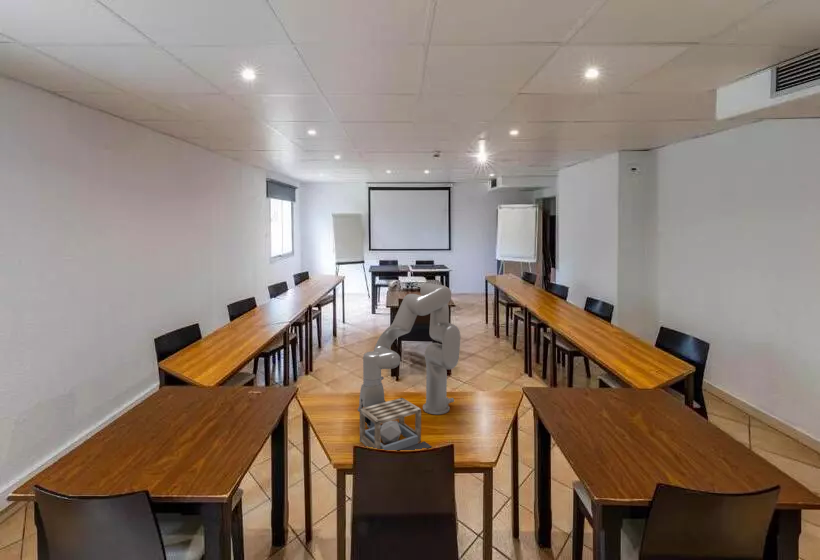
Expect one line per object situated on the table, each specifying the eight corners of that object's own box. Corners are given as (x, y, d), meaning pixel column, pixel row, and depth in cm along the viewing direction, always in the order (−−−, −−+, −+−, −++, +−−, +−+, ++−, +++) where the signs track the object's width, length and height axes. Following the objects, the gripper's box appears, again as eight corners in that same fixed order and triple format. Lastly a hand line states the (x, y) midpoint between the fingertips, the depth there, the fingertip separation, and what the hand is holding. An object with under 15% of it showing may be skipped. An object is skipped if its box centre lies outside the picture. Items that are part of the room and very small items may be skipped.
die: (392, 451, 162) (406, 428, 164) (373, 438, 163) (387, 415, 166) (393, 448, 171) (406, 426, 173) (374, 436, 172) (387, 414, 174)
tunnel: (402, 428, 180) (402, 397, 178) (420, 441, 169) (421, 409, 167) (359, 441, 168) (359, 408, 167) (376, 456, 157) (376, 421, 156)
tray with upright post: (386, 420, 186) (386, 401, 185) (418, 443, 166) (418, 422, 165) (353, 430, 177) (353, 409, 176) (383, 455, 158) (383, 432, 156)
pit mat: (424, 442, 168) (424, 441, 168) (431, 447, 164) (431, 446, 164) (399, 450, 161) (399, 449, 161) (406, 456, 157) (406, 455, 157)
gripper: (384, 375, 186) (384, 414, 188) (350, 382, 176) (350, 424, 179) (393, 380, 180) (393, 421, 182) (358, 388, 170) (359, 431, 172)
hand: (372, 422), depth 180 cm, fingers closed on tray with upright post, 3 cm apart
